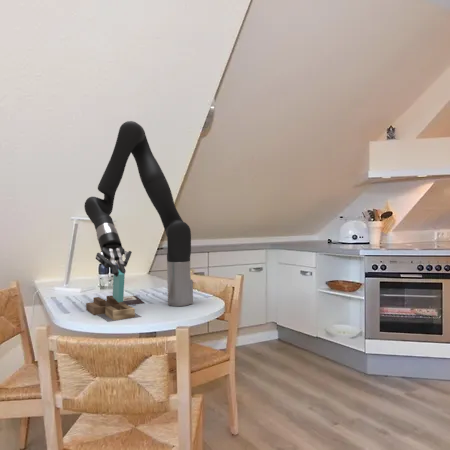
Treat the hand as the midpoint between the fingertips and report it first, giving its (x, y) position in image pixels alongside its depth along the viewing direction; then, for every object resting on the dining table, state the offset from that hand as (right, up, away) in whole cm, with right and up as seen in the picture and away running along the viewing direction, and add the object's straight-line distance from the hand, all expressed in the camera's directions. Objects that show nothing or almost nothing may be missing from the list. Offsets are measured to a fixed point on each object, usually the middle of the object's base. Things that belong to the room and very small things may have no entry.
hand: (120, 274), depth 151 cm
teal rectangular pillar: (-1, -9, +3) cm, 9 cm away
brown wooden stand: (-8, -15, +11) cm, 20 cm away
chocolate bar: (-3, -15, +30) cm, 33 cm away
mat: (-1, -15, +2) cm, 15 cm away
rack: (-1, -15, +2) cm, 15 cm away
